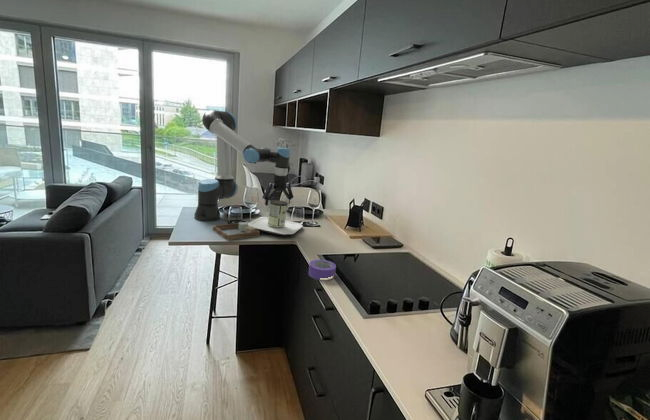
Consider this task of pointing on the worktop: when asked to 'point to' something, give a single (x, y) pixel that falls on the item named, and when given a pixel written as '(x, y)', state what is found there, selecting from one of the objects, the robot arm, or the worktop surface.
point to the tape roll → (321, 269)
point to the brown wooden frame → (234, 236)
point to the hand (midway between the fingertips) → (276, 210)
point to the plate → (262, 225)
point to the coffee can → (277, 213)
